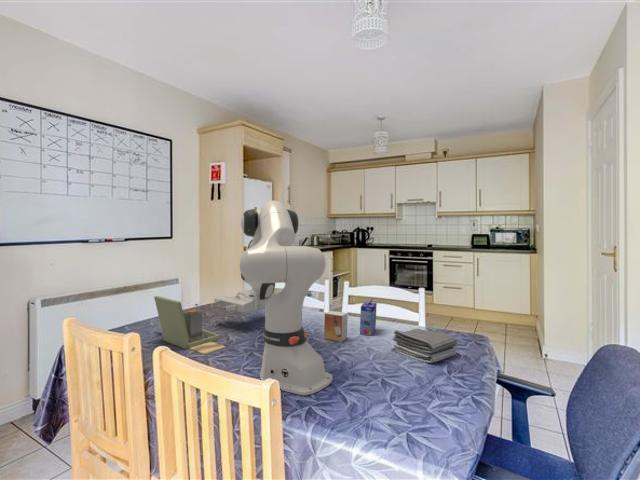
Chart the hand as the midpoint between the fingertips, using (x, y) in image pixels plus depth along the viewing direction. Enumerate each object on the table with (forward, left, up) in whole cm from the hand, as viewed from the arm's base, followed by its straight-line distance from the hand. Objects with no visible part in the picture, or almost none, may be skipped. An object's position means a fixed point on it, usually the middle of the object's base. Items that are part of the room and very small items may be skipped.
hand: (218, 307), depth 143 cm
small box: (-44, -24, -11) cm, 51 cm away
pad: (-13, +14, -11) cm, 22 cm away
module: (0, +12, -11) cm, 16 cm away
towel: (-78, -30, -11) cm, 84 cm away
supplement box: (+16, +13, -11) cm, 23 cm away
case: (+1, +14, -11) cm, 18 cm away
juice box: (-50, -40, -11) cm, 65 cm away
